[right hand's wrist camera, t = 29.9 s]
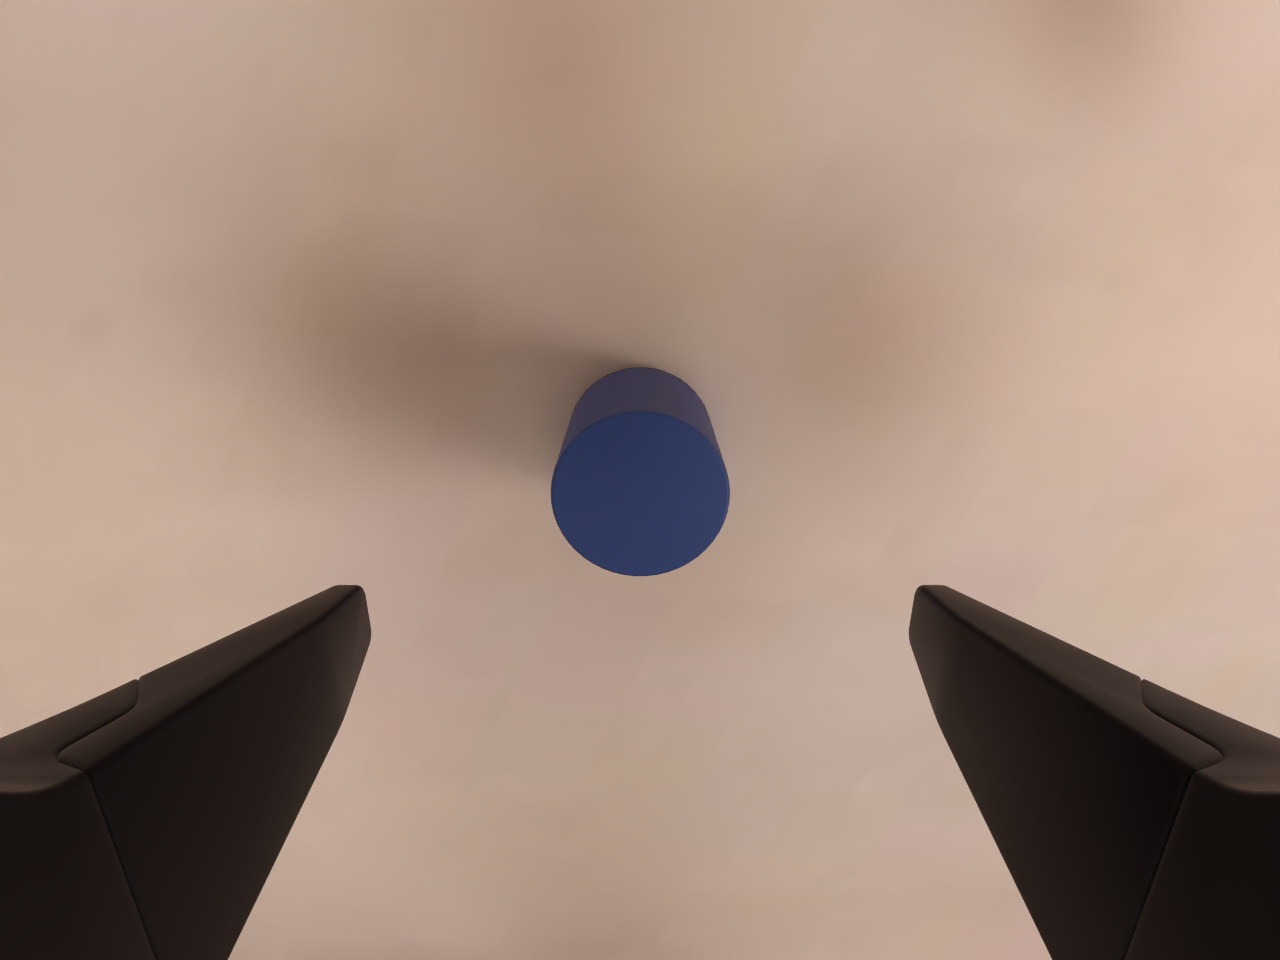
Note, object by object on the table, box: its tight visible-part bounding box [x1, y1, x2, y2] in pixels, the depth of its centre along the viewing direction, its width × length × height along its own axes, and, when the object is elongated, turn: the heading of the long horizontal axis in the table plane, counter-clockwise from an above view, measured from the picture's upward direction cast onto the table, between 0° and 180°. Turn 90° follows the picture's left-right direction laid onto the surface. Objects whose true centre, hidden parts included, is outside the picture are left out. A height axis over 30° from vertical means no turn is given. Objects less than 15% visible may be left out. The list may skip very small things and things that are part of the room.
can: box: [551, 368, 730, 576], centre depth 18 cm, size 4×4×5 cm
